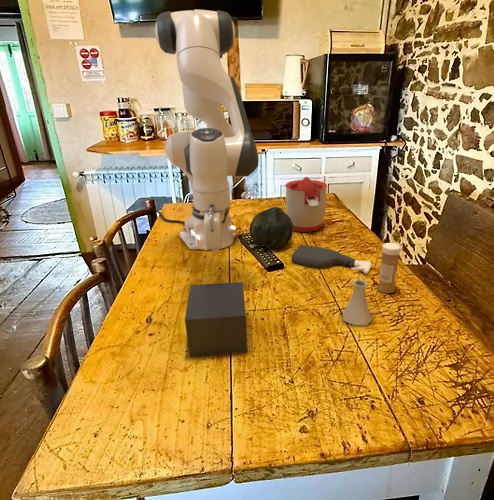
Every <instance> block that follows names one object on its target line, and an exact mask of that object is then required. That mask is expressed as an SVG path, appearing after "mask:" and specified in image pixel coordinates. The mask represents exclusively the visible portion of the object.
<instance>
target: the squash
mask: <svg viewBox="0 0 494 500" xmlns="http://www.w3.org/2000/svg"><path fill="white" fill-rule="evenodd" d="M293 232H294V229H293V224H292V221H291V219H290V217H289V216H288V215H287V213H286V212H285V211H284V210H283V209H282V208H281V207H278V206H274V207H270V208H267V209H264V210H262V211H260V212H258V213H256V214H255V215H254V216H253V218H252V220H251V222H250V223H249V234H250V235H249V236H250V237H251V239H252V243H254V245H256V246H258V247H264V248H268V247H270V248H276V249H281V248H284V247H285V246H287V245H288V244H289V243H290V242H291V240H292V238H293V234H294V233H293ZM262 245H263V246H262Z"/></svg>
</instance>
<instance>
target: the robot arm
mask: <svg viewBox="0 0 494 500" xmlns="http://www.w3.org/2000/svg"><path fill="white" fill-rule="evenodd" d="M154 34H155V39H156V42H157V44H158V46H159V48H160V50H161V51H163V53H166V54H168V55H173V56H175V55H176V66H177V70H178V76H179V79H180V81H181V88H182V96H183V97H182V98H183V107H184V109H185V110H184V111H185V112H186V113H187V114H188V115H189V116H191V117H193V118H195V119H196V120H199V121H202V122H203V123H204V124H205V126H206V127H202V128H198V129H196V130H183V131H179V132H175V133H171V134H169V135H168V136H167V138H166V141H165V143H164V152H165V156H166V158H167V159H168V161H169V162H170V163H171V164H172V165H174V166H176V167H177V168H178V169H179V170H181V172H183V173H184V175H185V176H186V177H187V179H188V181H189V183H190V187H191V191H192V198H193V204H192V206H191V208H192V209H191V211H192V212H191V215H190V216H189V217H188V218H186V220H185V221H183V220H179V219H168V218H165V217H164V215H163V214H162V213H161V211H160V210H159V209H156V210H155V211H154V213H158V215H159V216H160V217H161V219H162V220H163V221H165V222H168V223H181V224H183V225H184V226H183V230H182V231H181V232H179V235H178V236H179V238H181V240H182V241H183V243H184V244H185V245H186V247H188V249H189V250H204V251H211V252H212V253H214V254H215V253H219V252H220V250H221V249H225V248H227V247H230V246H231V245H232V244H233V243H234V239H235V238H236V237H237V234H236V232H234V230H236V226H235V225H233V221H232V217H231V216H230V214H229V207H230V206H231V191H230V182H229V180H228V177H243V178H245V177H249V176H250V175H252V174H253V173H254V172H255V171H256V170H257V168H258V167H259V161H260V155H259V150H258V147H257V145H256V141H255V138H254V136H253V134H252V130H251V127H250V124H249V120H248V117H247V113H246V109H245V106H244V102H243V99H242V96H241V93H240V92H241V91H240V90H239V87H238V84H237V82H236V80H235V78H234V77H233V76H231V75H230V74H228V73H227V72H226V70H225V69H224V67H223V65H222V63H221V59H223V55H225V54H227V53H229V52H230V50H232V48H233V46H234V43H235V40H236V27H235V23H234V22H233V18H232V16H231V14H230V13H228V12H227V11H223V10H218V9H217V10H216V11H215V10H207V9H192V10H191V9H189V10H179V11H172V12H171V11H170V10H168V11H165V12H161V13H159V15H158V16H157V17H156V20H155V25H154ZM222 107H224V108H225V109H226V111H227V113H228V116H229V120H230V122H229V121H228V120H227V118H226V117H225V115H224V112H223V109H222ZM230 123H231V124H230Z"/></svg>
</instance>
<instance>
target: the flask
mask: <svg viewBox="0 0 494 500" xmlns="http://www.w3.org/2000/svg"><path fill="white" fill-rule="evenodd" d="M352 285H353V291H352V294H351V297H350V299H349V301H348V303H347V305H346V307H345V308H344V309H343V312H342V319H343V321H344V322H346V323H348V324H351V325H353V326H368V325H369V323H370V322H372V319H373V318H372V315H371V312H370V309H369V305H368V300H367V296H366V288H367V286H368V283H367V281H366V280H363V279H355V280H354V281H353V283H352Z"/></svg>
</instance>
